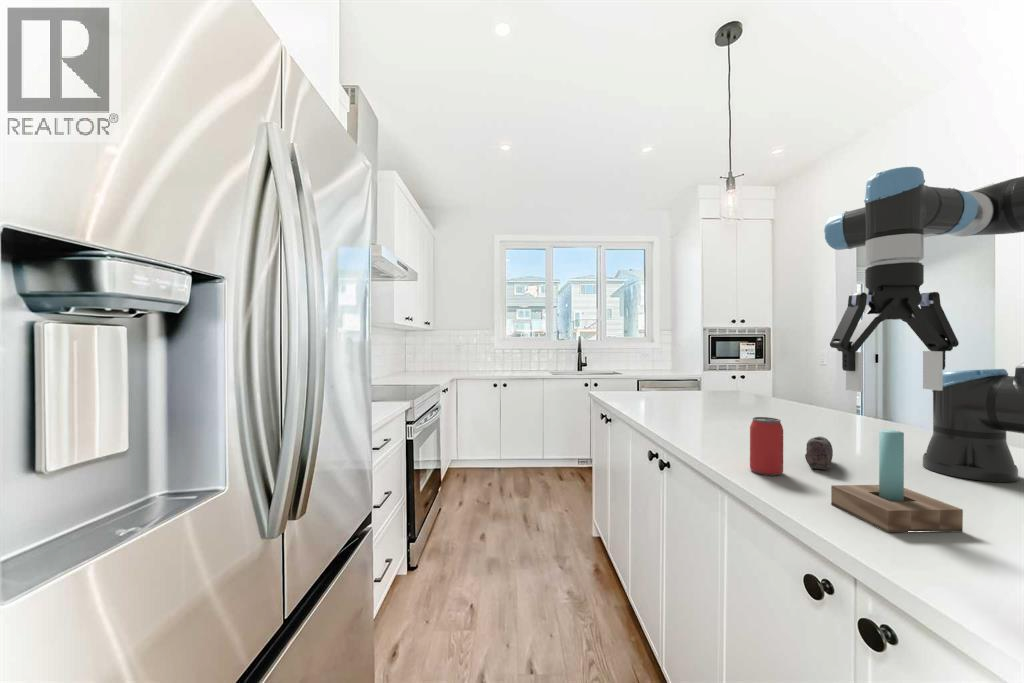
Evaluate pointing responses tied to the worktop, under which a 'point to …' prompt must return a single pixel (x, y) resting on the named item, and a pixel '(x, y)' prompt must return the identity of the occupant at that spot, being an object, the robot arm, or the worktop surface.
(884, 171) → the robot arm
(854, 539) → the worktop surface
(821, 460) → the perforated stone tool
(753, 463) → the beer can
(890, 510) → the board
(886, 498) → the pin
